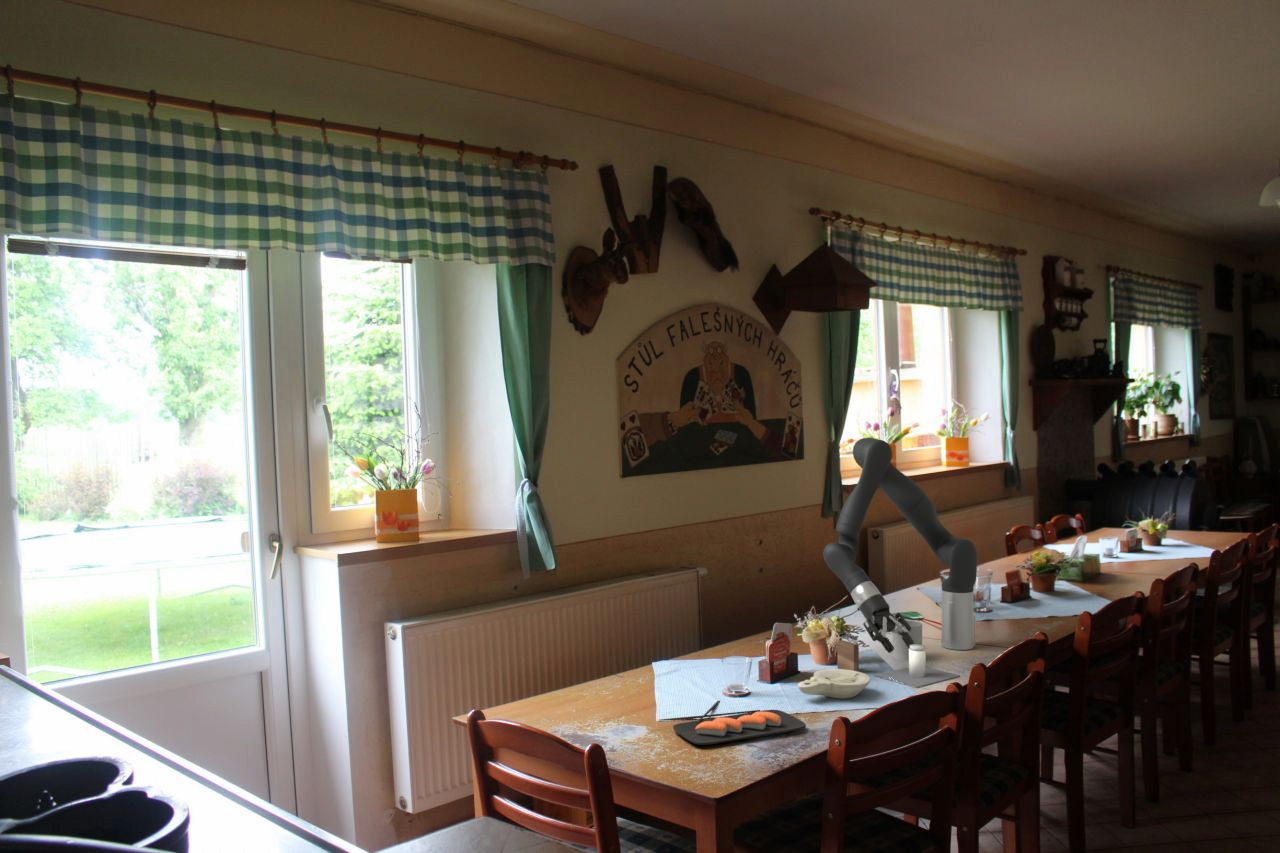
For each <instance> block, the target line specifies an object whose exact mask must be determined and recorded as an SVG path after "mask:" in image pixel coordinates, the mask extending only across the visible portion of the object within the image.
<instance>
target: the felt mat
mask: <svg viewBox="0 0 1280 853" xmlns="http://www.w3.org/2000/svg"><path fill="white" fill-rule="evenodd" d="M876 676H879V677H882V678H881V679H883V678H886V679H885V680H887V679H889V677H890V678H891V677H892V678H893V679H894V680H895V681H896V680H897V681H898V682H902V683H904V684H908V685H911V686H914V687H913V688H915V687H919V688H921V687H920V686H923V687H926V686H930V685H934V684H937V683H941V682H944V681H945V682H946V681H948V680H949V681H950V680H953V679H956V678H959V677H961V674H960V675H959V674H957V673H952V672H948V671H945V670H941V669H937V668H932V667H929V666H926V676H925V677H912V676H909V666H908V667H903V668H900V669H895V670H892V671H887V672H883V673H879V674H875V676H874V677H876ZM879 677H878V678H879ZM892 678H891V680H893V679H892ZM904 684H903V685H904ZM908 685H907V686H908ZM911 686H910V687H911Z"/></svg>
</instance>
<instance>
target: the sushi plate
mask: <svg viewBox="0 0 1280 853" xmlns="http://www.w3.org/2000/svg"><path fill="white" fill-rule="evenodd" d="M719 704H720V700H717V701H716V702H715V703H714V704H713V705H712V706H711V707H710V708H709V709H708V710H707V711H706V712H705V713H704V714H703V715H694V716H692V715H691V716H682V717H672V718H671V717H670V718H661V719H658V721H662V722H663V721H684V720H685V721H686V720H687V722H679V723H677V724H674V725H672V728H673V730H674V732H676V734H679V735H680V736H681V737H682V738H684V739H685V740H687V741H688V742H690V743H692V744H694V745H695V744H696V745H702V746H703V745H706V746H707V745H714V744H720V743H727V742H734V741H738V740H745V739H751V738H757V737H763V736H770V735H775V734H781V733H788V732H794V731H799V730H802V729H805V728H806V727H807V725H806V723H805V722H804V721H802V720H801V719H799V718H798V717H795V716H793V715H791V714H790V713H787V712H785V711H782V710H780V709H765V710H760V709H756V710H755V709H754V710H745V711H736V712H735V711H734V712H726V713H716V714H715V713H713V714H709V713H710V712H712V711H713V710H715V708H716V707H717V706H718V705H719ZM704 718H705V719H704ZM694 719H695V720H694ZM696 719H698V720H696ZM688 720H691V721H688Z"/></svg>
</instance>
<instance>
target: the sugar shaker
mask: <svg viewBox="0 0 1280 853" xmlns="http://www.w3.org/2000/svg"><path fill="white" fill-rule="evenodd" d="M926 653H927V652H926V646H925V645H923V644H922V645H920V644H912V645H910V648H909V661H908V667H909V676H912V677H925V676H926V667H927V666H926V661H927V660H926V659H927V658H926V655H927V654H926Z"/></svg>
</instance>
